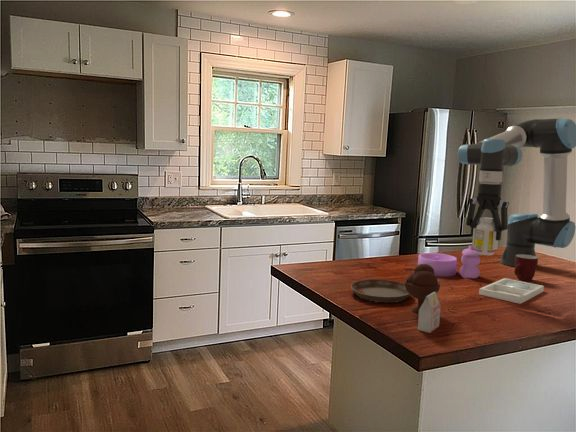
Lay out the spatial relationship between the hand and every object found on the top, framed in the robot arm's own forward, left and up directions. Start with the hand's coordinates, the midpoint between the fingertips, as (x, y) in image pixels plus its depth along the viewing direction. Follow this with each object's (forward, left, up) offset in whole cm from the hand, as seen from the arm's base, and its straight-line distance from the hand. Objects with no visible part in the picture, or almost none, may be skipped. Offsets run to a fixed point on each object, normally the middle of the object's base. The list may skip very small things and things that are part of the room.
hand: (484, 247), depth 179 cm
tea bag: (+49, +6, -16) cm, 52 cm away
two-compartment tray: (-4, +9, -16) cm, 19 cm away
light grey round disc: (-9, +9, -15) cm, 20 cm away
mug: (-26, +5, -16) cm, 31 cm away
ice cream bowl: (+38, -3, -16) cm, 42 cm away
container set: (-14, -20, -16) cm, 30 cm away
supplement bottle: (0, 0, -2) cm, 2 cm away
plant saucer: (+33, -21, -17) cm, 42 cm away
